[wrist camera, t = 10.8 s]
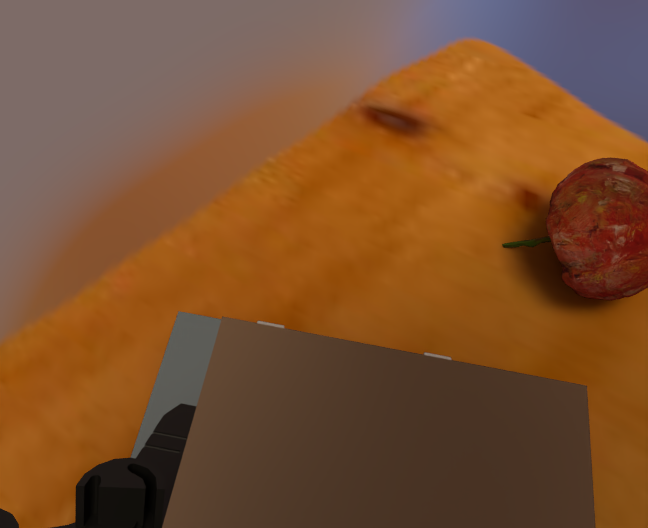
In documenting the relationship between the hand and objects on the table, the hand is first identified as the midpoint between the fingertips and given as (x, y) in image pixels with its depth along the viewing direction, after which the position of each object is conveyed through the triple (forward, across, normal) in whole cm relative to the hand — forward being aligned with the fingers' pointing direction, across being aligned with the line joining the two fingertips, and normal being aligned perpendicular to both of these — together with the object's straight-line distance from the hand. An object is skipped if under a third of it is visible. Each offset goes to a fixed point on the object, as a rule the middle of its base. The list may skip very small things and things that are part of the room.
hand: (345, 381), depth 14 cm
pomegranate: (+17, +13, +1) cm, 21 cm away
